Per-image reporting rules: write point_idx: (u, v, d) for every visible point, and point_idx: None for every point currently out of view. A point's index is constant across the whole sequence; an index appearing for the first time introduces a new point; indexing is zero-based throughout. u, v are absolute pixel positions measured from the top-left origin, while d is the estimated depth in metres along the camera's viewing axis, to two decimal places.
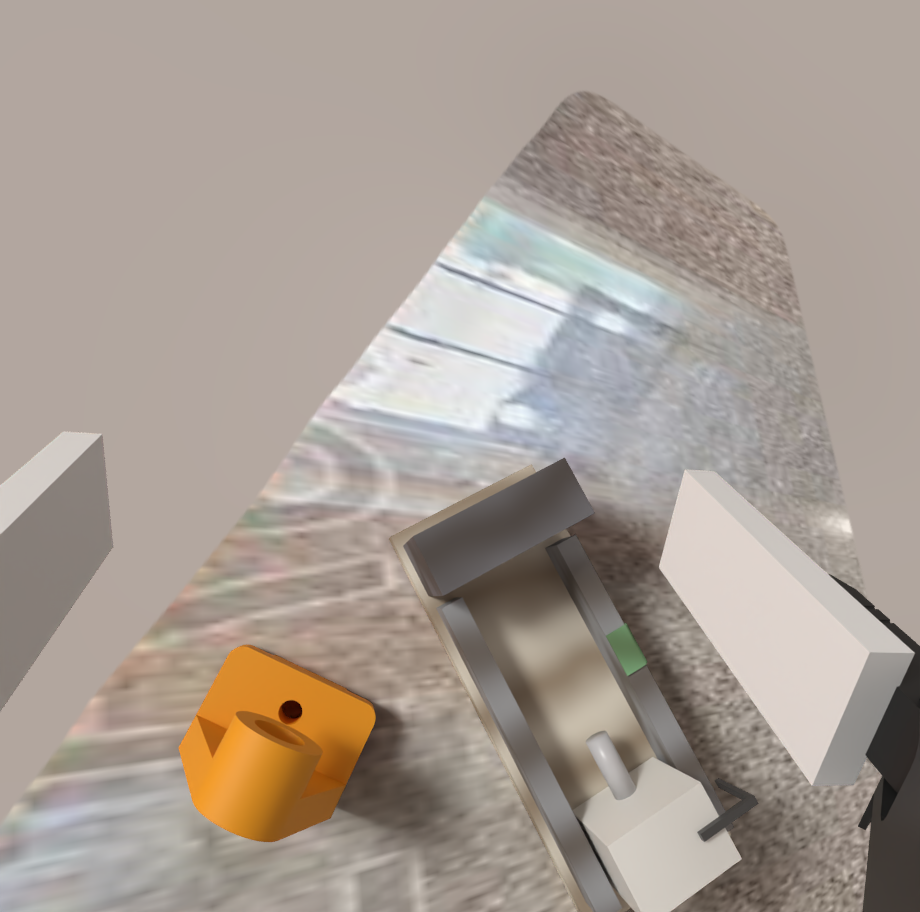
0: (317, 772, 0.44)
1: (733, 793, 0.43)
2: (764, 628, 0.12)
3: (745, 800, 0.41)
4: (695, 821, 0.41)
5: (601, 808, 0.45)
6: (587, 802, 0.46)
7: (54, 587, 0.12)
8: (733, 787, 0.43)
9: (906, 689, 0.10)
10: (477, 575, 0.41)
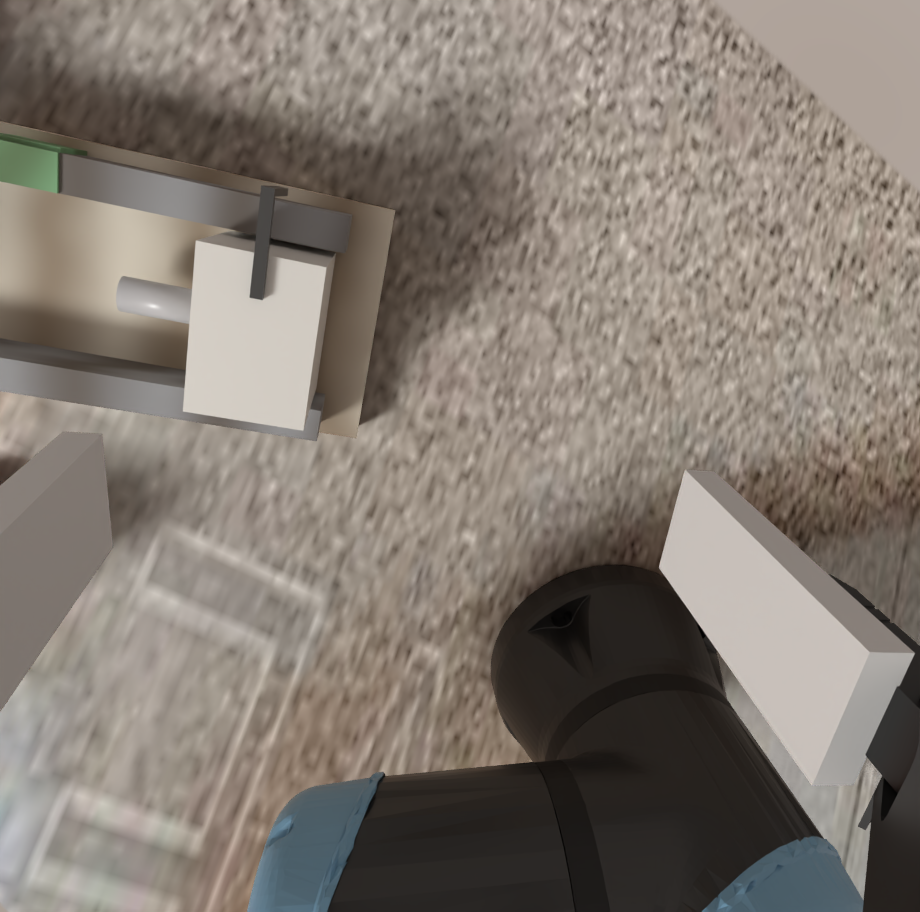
0: None
1: None
2: (764, 628, 0.12)
3: (260, 202, 0.25)
4: (237, 288, 0.27)
5: None
6: None
7: (54, 587, 0.12)
8: None
9: (906, 689, 0.10)
10: None
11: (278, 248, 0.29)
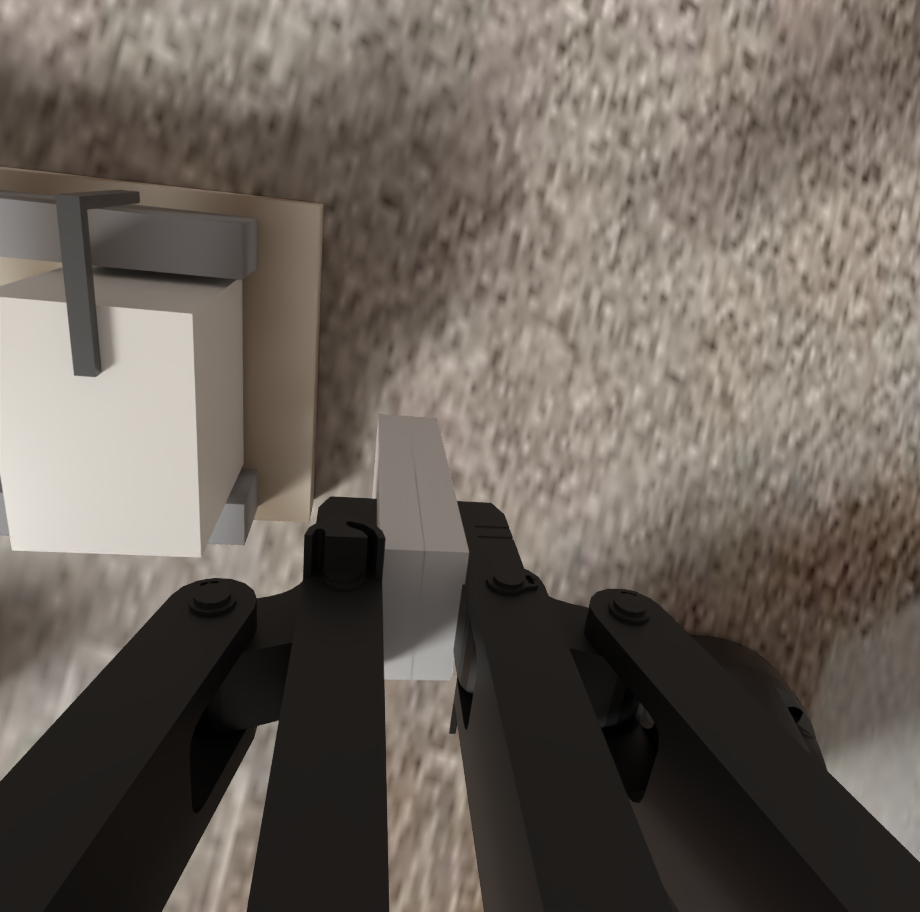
0: None
1: None
2: None
3: (60, 222, 0.15)
4: (56, 362, 0.17)
5: None
6: None
7: None
8: None
9: (469, 586, 0.11)
10: None
11: (136, 284, 0.19)
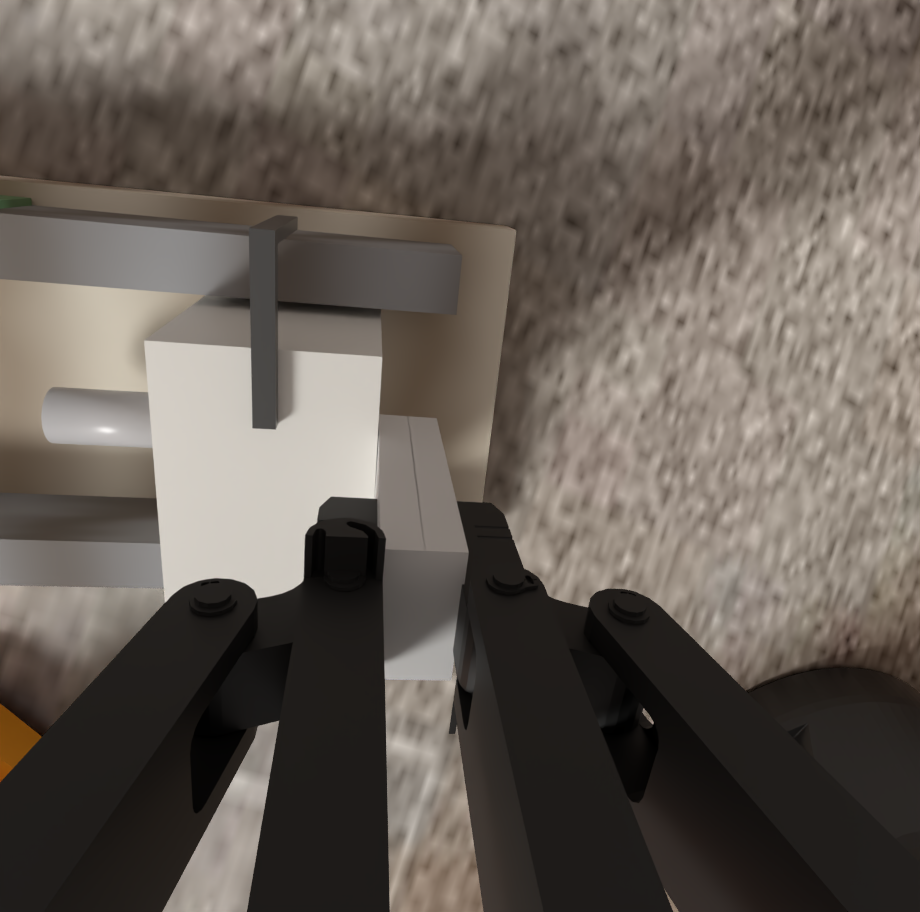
0: None
1: None
2: None
3: (250, 259, 0.14)
4: (230, 412, 0.15)
5: None
6: None
7: None
8: None
9: (469, 586, 0.11)
10: None
11: (292, 319, 0.18)
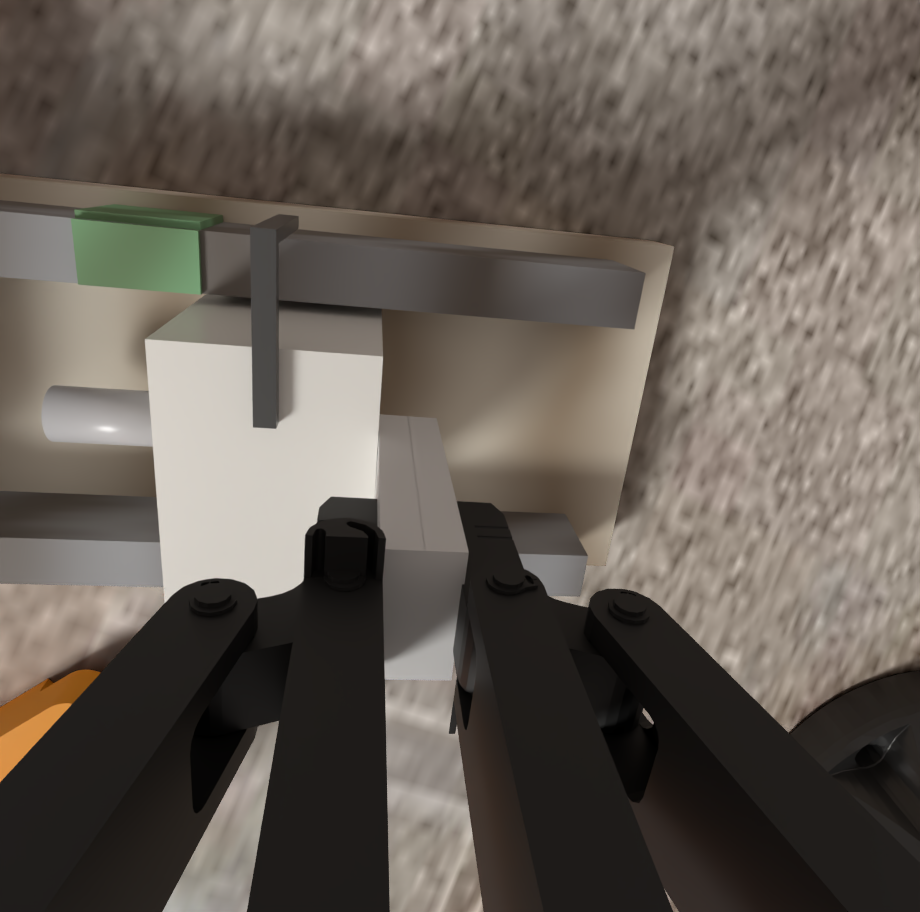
0: None
1: None
2: None
3: (251, 258, 0.14)
4: (230, 412, 0.15)
5: None
6: None
7: None
8: None
9: (469, 586, 0.11)
10: None
11: (293, 318, 0.18)
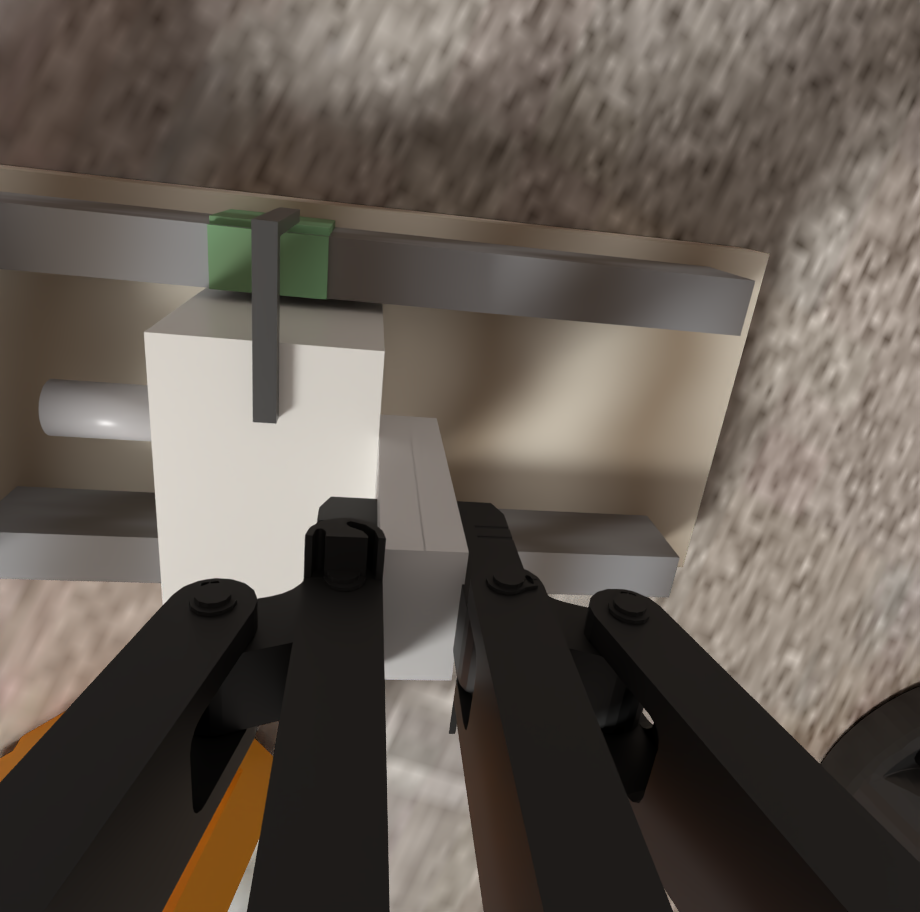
0: None
1: None
2: None
3: (252, 250, 0.13)
4: (230, 406, 0.15)
5: None
6: None
7: None
8: None
9: (469, 586, 0.11)
10: None
11: (293, 312, 0.17)
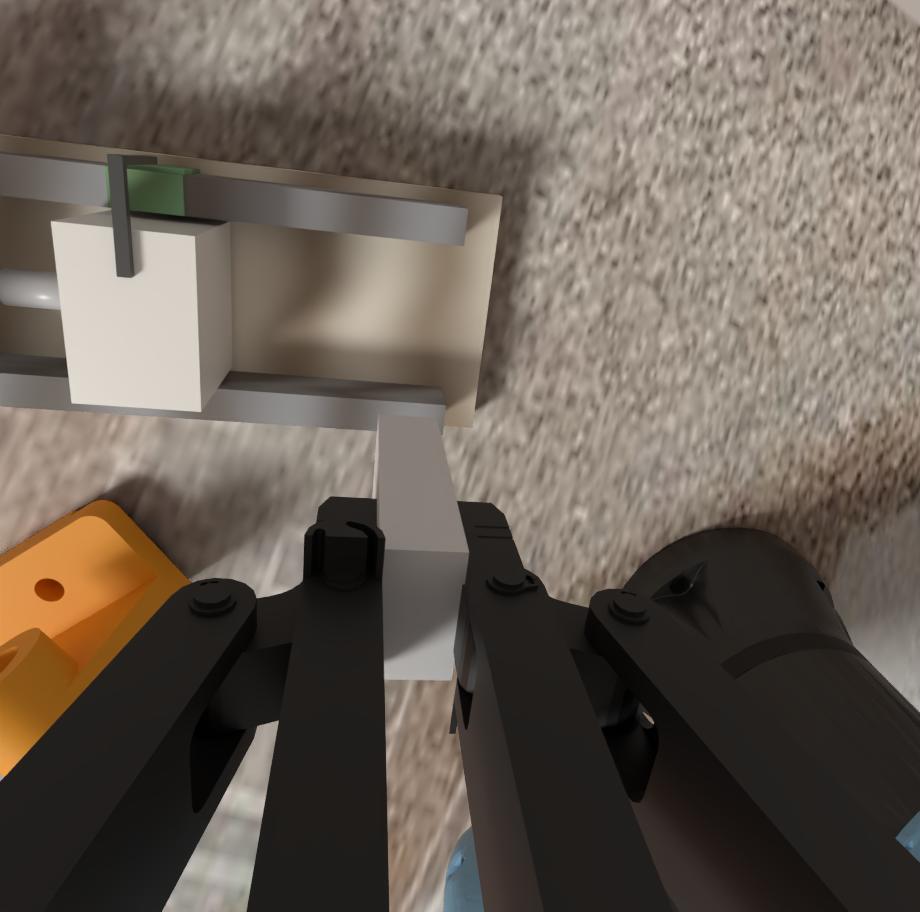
0: (127, 595, 0.38)
1: None
2: None
3: (109, 172, 0.24)
4: (104, 268, 0.25)
5: None
6: None
7: None
8: None
9: (469, 586, 0.11)
10: None
11: (155, 222, 0.28)
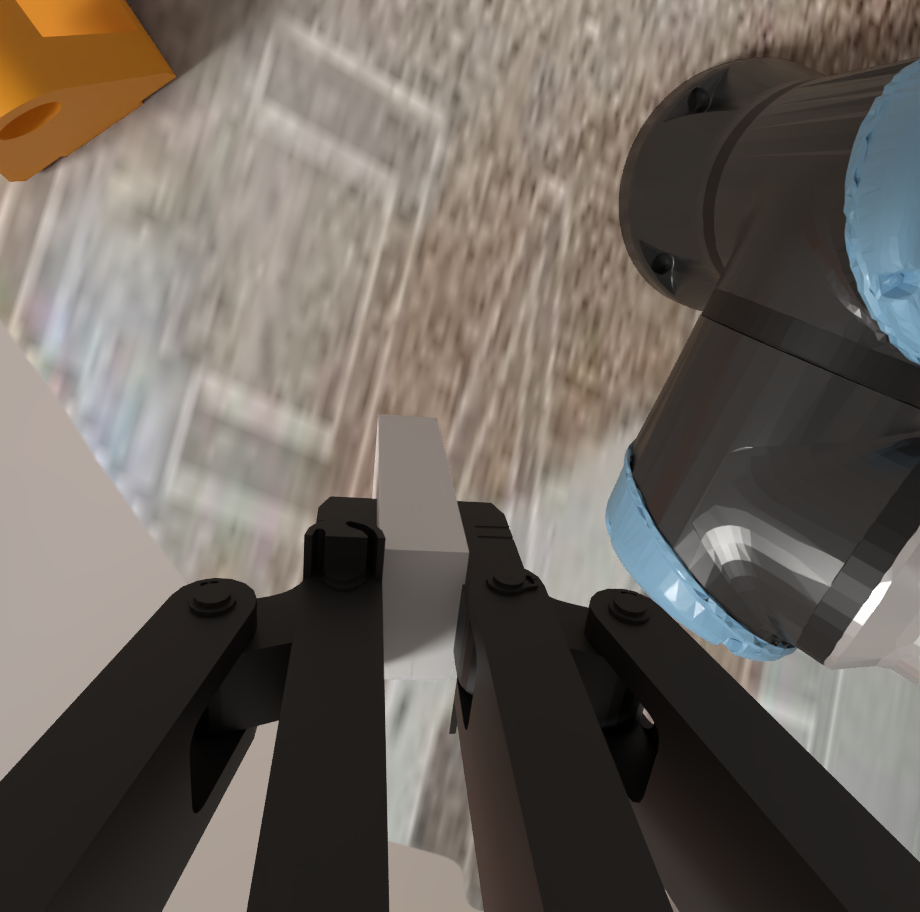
0: None
1: None
2: None
3: None
4: None
5: None
6: None
7: None
8: None
9: (469, 586, 0.11)
10: None
11: None
